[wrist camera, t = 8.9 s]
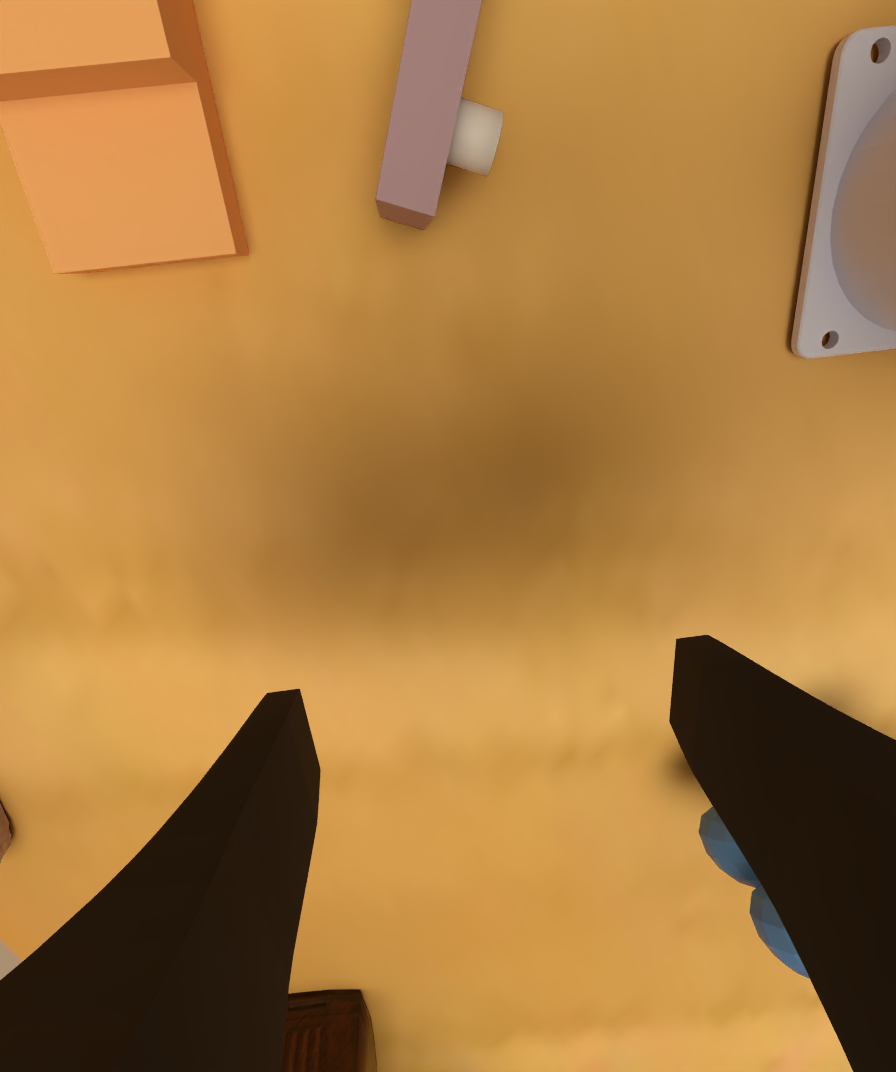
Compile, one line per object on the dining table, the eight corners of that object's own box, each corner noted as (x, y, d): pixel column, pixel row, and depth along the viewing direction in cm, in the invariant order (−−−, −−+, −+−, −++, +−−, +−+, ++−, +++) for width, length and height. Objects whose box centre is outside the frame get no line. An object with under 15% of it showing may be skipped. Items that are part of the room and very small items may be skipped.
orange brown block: (148, -211, 12) (65, -375, 9) (251, 254, 16) (217, 251, 13) (-68, -194, 12) (-228, -354, 9) (87, 273, 16) (14, 274, 13)
